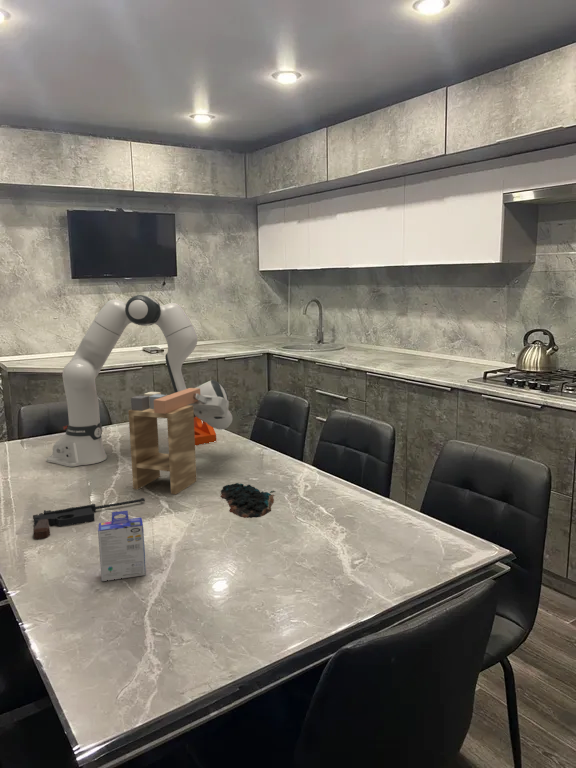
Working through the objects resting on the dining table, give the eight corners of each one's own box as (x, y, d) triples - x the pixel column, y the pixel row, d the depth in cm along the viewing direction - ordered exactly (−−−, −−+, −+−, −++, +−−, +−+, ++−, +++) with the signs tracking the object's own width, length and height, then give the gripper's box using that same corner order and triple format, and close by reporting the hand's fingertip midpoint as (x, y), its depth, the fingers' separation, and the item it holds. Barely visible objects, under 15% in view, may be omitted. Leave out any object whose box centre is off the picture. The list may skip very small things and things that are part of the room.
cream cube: (144, 405, 195) (143, 393, 194) (151, 403, 199) (150, 391, 198) (154, 406, 194) (154, 394, 193) (161, 404, 197) (160, 392, 197)
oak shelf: (133, 488, 192) (128, 410, 188) (155, 476, 204) (151, 402, 200) (175, 494, 187) (171, 413, 182) (196, 481, 199) (193, 405, 194)
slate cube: (149, 408, 190) (149, 396, 190) (156, 406, 194) (156, 394, 193) (160, 409, 189) (159, 397, 188) (167, 407, 193) (166, 394, 192)
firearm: (154, 520, 168) (143, 502, 182) (154, 510, 168) (143, 493, 181) (34, 542, 155) (31, 521, 168) (33, 531, 154) (31, 511, 168)
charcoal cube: (131, 410, 189) (130, 397, 188) (139, 407, 192) (138, 395, 192) (142, 410, 187) (141, 398, 187) (149, 408, 191) (148, 396, 190)
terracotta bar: (154, 412, 184) (153, 400, 183) (190, 399, 204) (189, 387, 203) (165, 413, 182) (164, 400, 182) (200, 400, 203) (200, 388, 202)
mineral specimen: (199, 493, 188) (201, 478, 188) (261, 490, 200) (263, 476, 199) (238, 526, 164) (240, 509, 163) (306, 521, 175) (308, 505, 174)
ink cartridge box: (145, 565, 140) (141, 506, 138) (146, 575, 135) (143, 515, 133) (101, 571, 138) (97, 512, 135) (101, 582, 132) (96, 521, 130)
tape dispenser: (172, 438, 256) (171, 419, 255) (199, 433, 263) (198, 415, 261) (187, 447, 241) (187, 427, 240) (216, 442, 248) (215, 423, 246)
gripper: (182, 398, 215) (163, 384, 203) (233, 401, 208) (216, 387, 196) (178, 414, 214) (159, 402, 201) (229, 418, 206) (212, 406, 194)
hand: (188, 395), depth 199 cm, fingers closed on terracotta bar, 4 cm apart
